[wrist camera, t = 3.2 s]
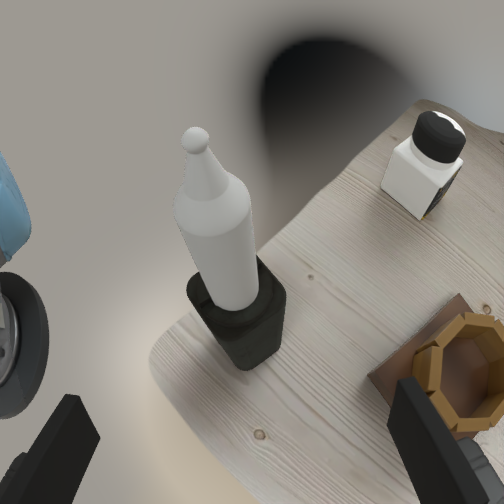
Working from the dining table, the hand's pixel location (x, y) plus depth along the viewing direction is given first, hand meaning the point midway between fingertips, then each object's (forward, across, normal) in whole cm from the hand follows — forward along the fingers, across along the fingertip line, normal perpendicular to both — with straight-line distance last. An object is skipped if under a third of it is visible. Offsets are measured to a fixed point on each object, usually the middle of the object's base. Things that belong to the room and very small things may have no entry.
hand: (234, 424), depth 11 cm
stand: (+13, +20, -12) cm, 27 cm away
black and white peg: (+18, 0, -7) cm, 20 cm away
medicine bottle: (+30, +23, +5) cm, 38 cm away
